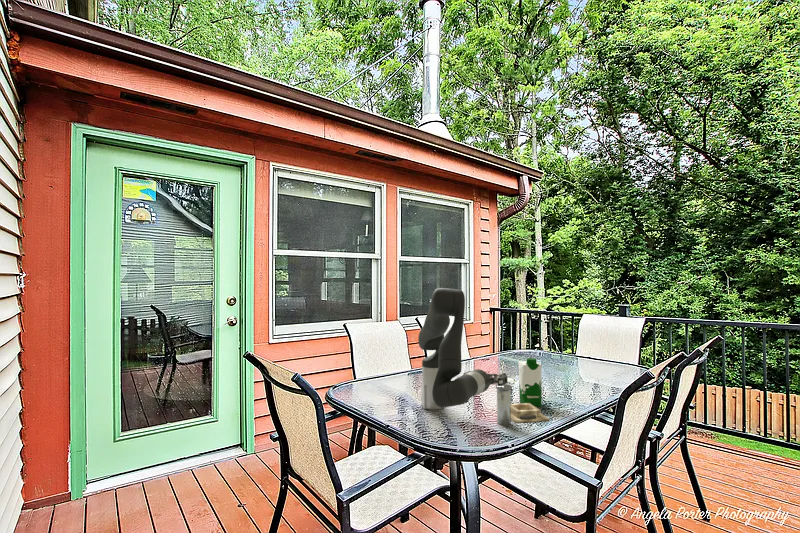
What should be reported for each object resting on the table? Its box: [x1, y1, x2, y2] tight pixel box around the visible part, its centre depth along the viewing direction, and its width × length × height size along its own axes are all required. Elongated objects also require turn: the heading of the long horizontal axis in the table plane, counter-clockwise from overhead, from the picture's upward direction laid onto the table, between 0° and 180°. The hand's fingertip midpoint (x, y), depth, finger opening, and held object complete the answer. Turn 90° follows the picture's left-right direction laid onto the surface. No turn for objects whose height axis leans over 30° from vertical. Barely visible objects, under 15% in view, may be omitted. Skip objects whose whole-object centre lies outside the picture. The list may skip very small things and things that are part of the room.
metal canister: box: [495, 383, 512, 427], centre depth 155 cm, size 6×6×14 cm
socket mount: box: [511, 403, 550, 424], centre depth 163 cm, size 14×14×3 cm
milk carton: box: [518, 357, 543, 408], centre depth 178 cm, size 9×9×20 cm
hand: (493, 374), depth 147 cm, fingers open, 8 cm apart
